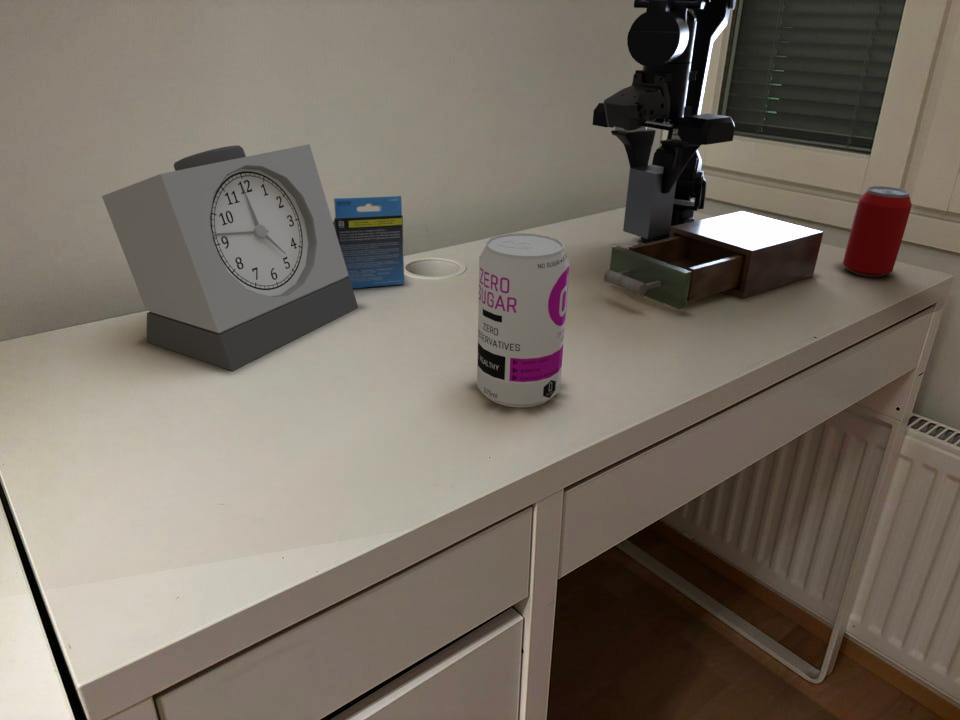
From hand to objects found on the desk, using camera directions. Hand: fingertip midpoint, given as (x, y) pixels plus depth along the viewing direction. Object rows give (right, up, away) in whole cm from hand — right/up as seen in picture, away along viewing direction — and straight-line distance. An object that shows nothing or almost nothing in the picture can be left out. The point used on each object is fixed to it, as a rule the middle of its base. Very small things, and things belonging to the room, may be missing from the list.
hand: (651, 189), depth 93 cm
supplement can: (-19, -26, -23) cm, 40 cm away
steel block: (0, -5, +3) cm, 6 cm away
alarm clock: (-50, -18, -9) cm, 54 cm away
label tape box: (-38, -12, +3) cm, 40 cm away
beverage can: (+35, -10, +12) cm, 38 cm away
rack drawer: (+3, -13, +1) cm, 13 cm away
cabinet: (+15, -10, +10) cm, 21 cm away
